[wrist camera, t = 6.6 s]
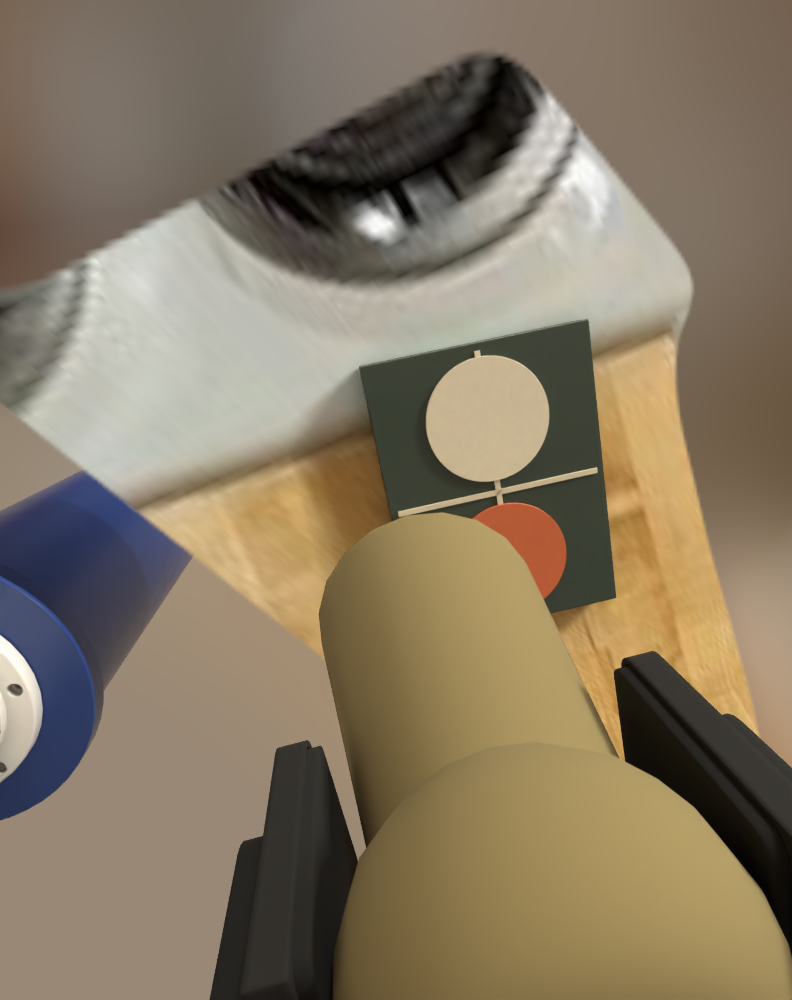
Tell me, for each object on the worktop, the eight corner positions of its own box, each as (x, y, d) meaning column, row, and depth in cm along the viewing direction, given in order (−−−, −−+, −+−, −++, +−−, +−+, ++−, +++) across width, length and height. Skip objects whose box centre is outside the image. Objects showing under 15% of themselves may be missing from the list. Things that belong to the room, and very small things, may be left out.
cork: (312, 711, 16) (266, 1412, 6) (326, 504, 15) (300, 926, 4) (519, 715, 17) (828, 1340, 6) (553, 519, 15) (1037, 909, 5)
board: (415, 634, 34) (418, 646, 33) (358, 366, 30) (359, 367, 29) (607, 589, 35) (618, 599, 34) (579, 319, 31) (590, 318, 29)
